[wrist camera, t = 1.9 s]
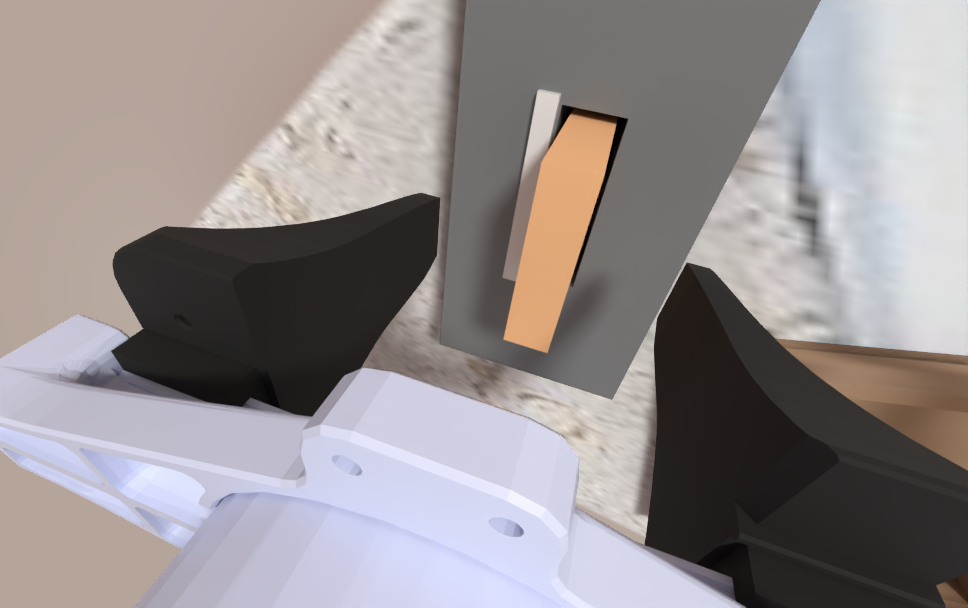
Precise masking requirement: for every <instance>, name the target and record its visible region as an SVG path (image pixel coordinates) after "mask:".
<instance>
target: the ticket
mask: <svg viewBox="0 0 968 608" xmlns="http://www.w3.org/2000/svg"><path fill="white" fill-rule="evenodd" d="M617 119H618V116H613V115H609V114H604V113H599V112H594V111H590V110H585V109H580V108H576V107H574V109H573V111H572V112H571V114H570V116H569V117H568V119H567V121H566V122H565V124H564V126H563V127H562V129H561V131H560V132H559V134H558V136H557V137H556V139H555V140H554V142H553V144H552V145H551V147H550V149H549V150H548V152H547V154H546V155H545V157H544V159H543V160H542V163H541V167H540V172H539V177H538V181H537V186H536V191H535V195H534V200H533V205H532V209H531V214H530V218H529V223H528V228H527V232H526V237H525V242H524V246H523V251H522V256H521V260H520V265H519V269H518V274H517V279H516V283H515V288H514V293H513V297H512V302H511V307H510V311H509V316H508V320H507V325H506V330H505V334H504V339H503V340H507V341H510V342H513V343H516V344H519V345H523V346H526V347H529V348H532V349H535V350H539V351H542V352H545V353H548V350H549V347H550V344H551V341H552V337H553V334H554V331H555V328H556V325H557V322H558V319H559V316H560V313H561V309H562V306H563V303H564V300H565V297H566V294H567V291H568V288H569V285H570V281H571V278H572V275H573V272H574V269H575V266H576V263H577V260H578V257H579V253H580V250H581V247H582V244H583V241H584V238H585V235H586V232H587V229H588V225H589V222H590V219H591V216H592V213H593V210H594V207H595V204H596V201H597V197H598V194H599V191H600V188H601V185H602V182H603V179H604V175H605V171H606V167H607V162H608V158H609V154H610V149H611V145H612V141H613V137H614V132H615V128H616V124H617Z"/></svg>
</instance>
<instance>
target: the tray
mask: <svg viewBox="0 0 968 608" xmlns="http://www.w3.org/2000/svg"><path fill="white" fill-rule="evenodd" d="M776 340H777V341H778V342H779V343H780V344H781V345H782V346H783V347H784V348H785V349H786V350H788V351H789V352H790V353H791V354H792V355H793V356H794V357H796V358H797V359H798V360H799V361H800V362H801V363H803V364H804V365H805V366H806V367H807V368H809V369H810V370H811V371H812V372H813V373H815V374H816V375H817V376H819V377H820V378H821V379H822V380H824V381H825V382H826V383H828V384H829V385H830V386H832V387H833V388H835V389H836V390H837V391H839V392H840V393H841V394H843V395H844V396H846V397H847V398H848V399H850V400H851V401H852V402H854V403H855V404H857V405H858V406H860V407H861V408H863V409H864V410H866V411H867V412H869V413H870V414H872V415H873V416H875V417H877V418H878V419H880V420H881V421H883V422H885V423H886V424H888V425H889V426H891V427H893V428H894V429H896V430H897V431H899V432H901V433H902V434H904V435H905V436H907V437H909V438H910V439H912V440H914V441H915V442H917V443H919V444H921V445H923V446H924V447H926V448H928V449H930V450H932V451H934V452H935V453H937V454H939V455H941V456H943V457H944V458H946V459H948V460H950V461H952V462H953V463H955V464H957V465H959V466H961V467H962V468H964V469H966V470H968V356H961V355H950V354H938V353H927V352H916V351H905V350H894V349H883V348H871V347H860V346H849V345H838V344H827V343H815V342H804V341H793V340H782V339H776ZM936 586H937V588H938V591H939V593H940V595H941V597H942V599H943V601H944V603H945V605H946V608H968V573H967V574H964V575H962V576H959V577H957V578H954V579H951V580H949V581H946V582H944V583H941V584H939V585H936Z"/></svg>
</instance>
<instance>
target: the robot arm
mask: <svg viewBox="0 0 968 608" xmlns="http://www.w3.org/2000/svg"><path fill="white" fill-rule="evenodd" d="M439 209H440V198H439V197H435V196H431V195H427V194H423V193H418V194H413V195H410V196H406V197H403V198H400V199H397V200H393V201H390V202H387V203H384V204H381V205H378V206H375V207H371V208H368V209H365V210H361V211H357V212H354V213H350V214H346V215H343V216H339V217H334V218H330V219H325V220H320V221H314V222H308V223H302V224H293V225H284V226H274V227H263V228H237V229H211V228H186V227H168V226H165V227H162V228H160V229H157V230H155V231H153V232H151V233H149V234H148V235H146V236H143V237H141V238H139V239H138V240H136V241H134V242H132V243H130V244H128V245H126V246H124V247H122V248H120V249H119V250H118V251H117V252H116V253H115V256H114V259H113V270H114V276H115V278H116V280H117V282H118V284H119V287H120V289H121V291H122V292H123V294H124V295H125V298H126V299H127V301H128V303H129V305H130V306H131V308H132V310H133V312H134V313H135V315H136V317H137V319H138V320H139V322H140V324H141V325H142V327H143V328H144V329H142V330H141V331H139V332H138V333H136V334H135V335H134V336H132V337H131V338H130V337H129V336H128V335H127V334H125V333H124V332H123V331H122V330H120V329H118V328H116V327H114V326H111V325H108V324H105V323H103V322H100V321H97V320H94V319H92V318H89V317H86V316H83V315H75V316H73V317H71V318H69V319H68V320H66V321H65V322H63V323H61V324H59V325H57V326H56V327H54V328H52V329H51V330H49V331H47V332H45V333H44V334H42V335H40V336H38V337H37V338H35V339H33V340H32V341H30V342H28V343H26V344H25V345H23V346H21V347H20V348H18V349H16V350H15V351H13V352H11V353H9V354H8V355H6V356H4V357H2V358H1V359H0V450H1V451H2V452H3V453H4V454H5V455H7V456H8V457H9V458H10V459H11V460H13V461H14V462H15V463H16V464H17V465H18V466H20V467H21V468H23V469H26V470H28V471H30V472H32V473H34V474H36V475H39V476H41V477H43V478H45V479H47V480H49V481H51V482H54V483H56V484H58V485H60V486H62V487H64V488H66V489H68V490H70V491H72V492H74V493H76V494H78V495H80V496H82V497H84V498H86V499H88V500H90V501H92V502H94V503H95V504H97V505H99V506H101V507H103V508H105V509H107V510H109V511H111V512H113V513H114V514H116V515H118V516H120V517H122V518H124V519H126V520H128V521H129V522H131V523H133V524H135V525H137V526H139V527H141V528H142V529H144V530H146V531H148V532H150V533H152V534H154V535H155V536H157V537H159V538H161V539H163V540H165V541H167V542H168V543H170V544H172V545H174V546H176V547H178V548H180V549H181V551H180V552H179V553H178V555H177V556H176V557H175V558H174V559H173V561H172V562H171V563H170V564H169V565H168V567H167V568H166V569H165V570H164V572H163V573H162V574H161V575H160V576H159V578H158V579H157V580H156V581H155V582H154V584H153V585H152V586H151V587H150V589H149V590H148V591H147V592H146V594H145V595H144V596H143V597H142V598H141V600H140V601H139V602H138V603H137V604H136V606H135V607H134V608H946V605H945V603H944V601H943V599H942V597H941V595H940V593H939V591H938V588H937V586H936V585H939V584H941V583H944V582H946V581H949V580H951V579H954V578H957V577H959V576H962V575H964V574H967V573H968V470H966V469H964V468H962V467H961V466H959V465H957V464H955V463H953V462H952V461H950V460H948V459H946V458H944V457H943V456H941V455H939V454H937V453H935V452H934V451H932V450H930V449H928V448H926V447H924V446H923V445H921V444H919V443H917V442H915V441H914V440H912V439H910V438H909V437H907V436H905V435H904V434H902V433H901V432H899V431H897V430H896V429H894V428H893V427H891V426H889V425H888V424H886V423H885V422H883V421H881V420H880V419H878V418H877V417H875V416H873V415H872V414H870V413H869V412H867V411H866V410H864V409H863V408H861V407H860V406H858V405H857V404H855V403H854V402H852V401H851V400H850V399H848V398H847V397H846V396H844V395H843V394H841V393H840V392H839V391H837V390H836V389H835V388H833V387H832V386H830V385H829V384H828V383H826V382H825V381H824V380H822V379H821V378H820V377H819V376H817V375H816V374H815V373H813V372H812V371H811V370H810V369H809V368H807V367H806V366H805V365H804V364H803V363H801V362H800V361H799V360H798V359H797V358H796V357H794V356H793V355H792V354H791V353H790V352H789V351H788V350H786V349H785V348H784V347H783V346H782V345H781V344H780V343H779V342H778V341H777V340H776V339H775V338H774V337H773V336H772V335H771V334H770V333H769V332H768V331H767V330H766V329H765V328H764V327H763V326H762V325H761V324H760V323H759V322H758V321H757V320H756V319H755V318H754V317H753V316H752V314H751V313H750V312H749V311H748V310H747V309H746V308H745V307H744V305H743V304H742V303H741V302H740V301H739V300H738V299H737V297H736V296H735V295H734V294H733V293H732V292H731V290H730V289H729V288H728V287H727V286H726V285H725V284H724V282H723V281H722V280H721V279H720V278H719V277H718V276H717V275H716V274H715V273H714V272H713V271H712V270H711V269H709V268H706V267H702V266H698V265H694V264H690V263H686V265H685V267H684V269H683V271H682V273H681V275H680V276H679V278H678V280H677V282H676V284H675V286H674V288H673V290H672V292H671V293H670V295H669V297H668V299H667V301H666V303H665V305H664V307H663V309H662V310H661V312H660V314H659V316H658V318H657V325H656V333H655V342H654V361H655V382H656V400H657V436H656V450H655V462H654V472H653V483H652V493H651V501H650V509H649V517H648V525H647V532H646V539H645V545H643V544H640V543H637V542H635V541H633V540H631V539H630V538H628V537H626V536H625V535H623V534H621V533H620V532H618V531H616V530H615V529H613V528H611V527H610V526H608V525H606V524H604V523H603V522H601V521H599V520H597V519H596V518H594V517H593V516H591V515H589V514H588V513H586V512H584V511H582V510H581V509H579V508H577V507H576V506H575V502H576V495H577V488H578V481H579V457H578V456H577V455H576V453H575V452H574V451H573V450H572V448H571V447H570V446H569V445H568V444H567V442H566V441H565V440H564V439H563V438H562V436H561V435H560V434H559V433H558V432H556V431H554V430H552V429H550V428H548V427H546V426H544V425H543V424H541V423H539V422H537V421H535V420H533V419H531V418H529V417H526V416H523V415H520V414H517V413H514V412H512V411H509V410H506V409H503V408H500V407H497V406H494V405H491V404H488V403H485V402H482V401H479V400H476V399H473V398H470V397H467V396H464V395H462V394H459V393H456V392H453V391H450V390H447V389H444V388H441V387H438V386H435V385H432V384H429V383H426V382H423V381H420V380H417V379H415V378H412V377H409V376H406V375H403V374H400V373H397V372H393V371H386V370H379V369H373V368H361V367H362V365H363V363H364V362H365V360H366V358H367V357H368V355H369V353H370V352H371V350H372V348H373V347H374V345H375V343H376V342H377V340H378V338H379V337H380V335H381V334H382V333H383V331H384V330H385V328H386V327H387V326H388V324H389V323H390V322H391V321H392V319H393V318H394V317H395V315H396V314H397V313H398V312H399V310H400V309H401V308H402V307H403V305H404V304H405V303H406V301H407V300H408V299H409V298H410V296H411V295H412V294H413V292H414V291H415V290H416V289H417V287H418V286H419V285H420V283H421V282H422V281H423V279H424V278H425V276H426V274H427V273H428V271H429V269H430V267H431V265H432V264H433V262H434V260H435V258H436V256H437V244H438V227H439Z"/></svg>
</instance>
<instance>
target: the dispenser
mask: <svg viewBox="0 0 968 608" xmlns="http://www.w3.org/2000/svg"><path fill="white" fill-rule="evenodd" d="M820 1H821V0H466V9H465V22H464V35H463V47H462V60H461V73H460V86H459V99H458V112H457V125H456V138H455V151H454V164H453V177H452V190H451V203H450V216H449V229H448V242H447V255H446V268H445V281H444V294H443V307H442V320H441V333H440V344H441V345H444V346H447V347H450V348H454V349H457V350H460V351H463V352H466V353H469V354H472V355H475V356H478V357H481V358H485V359H488V360H491V361H494V362H497V363H500V364H503V365H506V366H509V367H512V368H516V369H519V370H522V371H525V372H528V373H531V374H534V375H537V376H540V377H543V378H547V379H550V380H553V381H556V382H559V383H562V384H565V385H568V386H571V387H574V388H578V389H581V390H584V391H587V392H590V393H593V394H596V395H599V396H602V397H605V398H609V399H613V397H614V395H615V393H616V391H617V389H618V388H619V386H620V384H621V382H622V380H623V378H624V376H625V374H626V372H627V370H628V368H629V366H630V365H631V363H632V361H633V359H634V357H635V355H636V353H637V351H638V349H639V347H640V345H641V343H642V342H643V340H644V338H645V336H646V334H647V332H648V330H649V328H650V326H651V324H652V322H653V320H654V319H655V317H656V315H657V313H658V311H659V309H660V307H661V305H662V303H663V301H664V299H665V297H666V296H667V294H668V292H669V290H670V288H671V286H672V284H673V282H674V280H675V278H676V276H677V275H678V273H679V271H680V269H681V267H682V265H683V263H684V261H685V259H686V257H687V255H688V253H689V252H690V250H691V248H692V246H693V244H694V242H695V240H696V238H697V236H698V234H699V232H700V230H701V229H702V227H703V225H704V223H705V221H706V219H707V217H708V215H709V213H710V211H711V209H712V207H713V206H714V204H715V202H716V200H717V198H718V196H719V194H720V192H721V190H722V188H723V186H724V184H725V183H726V181H727V179H728V177H729V175H730V173H731V171H732V169H733V167H734V165H735V163H736V162H737V160H738V158H739V156H740V154H741V152H742V150H743V148H744V146H745V144H746V142H747V140H748V139H749V137H750V135H751V133H752V131H753V129H754V127H755V125H756V123H757V121H758V119H759V117H760V116H761V114H762V112H763V110H764V108H765V106H766V104H767V102H768V100H769V98H770V96H771V94H772V93H773V91H774V89H775V87H776V85H777V83H778V81H779V79H780V77H781V75H782V73H783V71H784V70H785V68H786V66H787V64H788V62H789V60H790V58H791V56H792V54H793V52H794V50H795V49H796V47H797V45H798V43H799V41H800V39H801V37H802V35H803V33H804V31H805V29H806V27H807V26H808V24H809V22H810V20H811V18H812V16H813V14H814V12H815V10H816V8H817V6H818V4H819V3H820ZM571 107H576V108H580V109H585V110H590V111H594V112H599V113H604V114H609V115H613V116H618V117H623V118H625V119H624V122H623V125H622V128H621V131H620V135H619V138H618V141H617V144H616V147H615V150H614V153H613V156H612V159H611V162H610V165H609V168H608V172H607V175H606V178H605V181H604V184H603V187H602V190H601V193H600V196H599V199H598V202H597V205H596V209H595V212H594V215H593V218H592V221H591V224H590V227H589V230H588V233H587V236H586V239H585V242H584V246H582V247H581V250H580V253H579V257H578V260H577V263H576V266H575V269H574V272H573V275H572V278H571V281H570V285H569V288H568V291H567V294H566V297H565V300H564V303H563V306H562V309H561V313H560V316H559V319H558V322H557V325H556V328H555V331H554V334H553V337H552V341H551V344H550V347H549V350H548V353H545V352H542V351H539V350H535V349H532V348H529V347H526V346H523V345H519V344H516V343H513V342H510V341H507V340H503V339H504V334H505V330H506V325H507V320H508V316H509V311H510V307H511V302H512V297H513V293H514V288H515V283H516V279H517V274H518V269H519V265H520V260H521V256H522V251H523V246H524V242H525V237H526V232H527V228H528V223H529V218H530V214H531V209H532V205H533V200H534V195H535V191H536V186H537V181H538V177H539V172H540V167H541V163H542V160H543V159H544V157H545V155H546V154H547V152H548V150H549V149H550V147H551V145H552V144H553V142H554V140H555V139H556V137H557V136H558V134H559V132H560V131H561V129H562V127H563V126H564V124H565V122H566V121H567V119H568V117H569V114H570V110H571Z"/></svg>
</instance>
